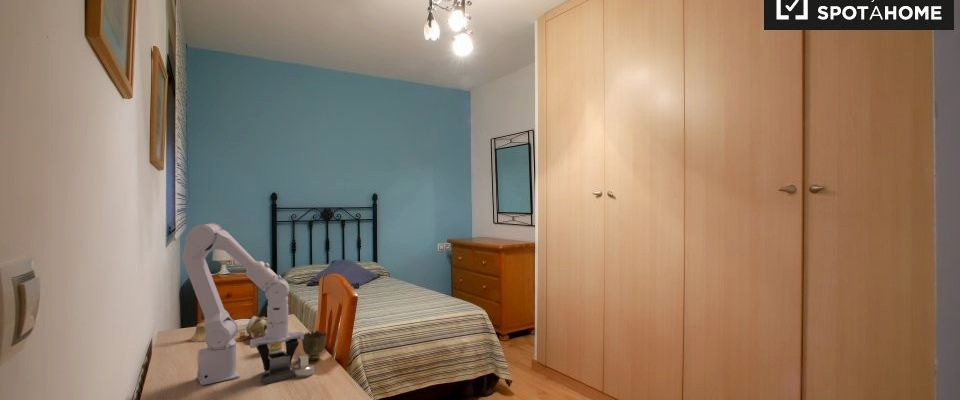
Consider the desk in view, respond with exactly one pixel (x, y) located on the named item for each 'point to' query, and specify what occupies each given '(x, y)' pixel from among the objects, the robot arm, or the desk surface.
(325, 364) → the desk surface
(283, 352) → the dark-topped grey cube
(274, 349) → the supplement bottle
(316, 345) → the cup
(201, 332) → the hand bell
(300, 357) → the ratchet
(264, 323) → the ceramic sculpture
